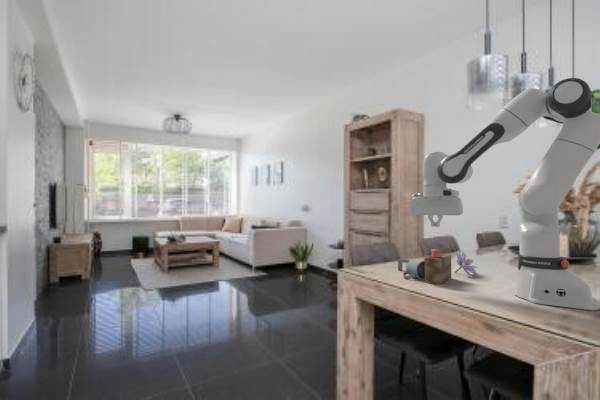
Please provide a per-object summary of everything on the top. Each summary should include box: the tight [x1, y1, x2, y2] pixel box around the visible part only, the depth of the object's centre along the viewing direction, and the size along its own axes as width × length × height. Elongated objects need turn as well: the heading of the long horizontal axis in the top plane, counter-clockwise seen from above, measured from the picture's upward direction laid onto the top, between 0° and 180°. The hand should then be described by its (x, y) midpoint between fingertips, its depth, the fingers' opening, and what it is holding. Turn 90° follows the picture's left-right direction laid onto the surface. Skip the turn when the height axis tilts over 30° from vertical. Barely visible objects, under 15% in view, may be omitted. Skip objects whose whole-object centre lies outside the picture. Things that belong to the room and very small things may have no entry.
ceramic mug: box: [402, 259, 425, 280], centre depth 139 cm, size 11×8×8 cm
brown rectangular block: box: [423, 253, 452, 286], centre depth 134 cm, size 6×14×10 cm, turn 138°
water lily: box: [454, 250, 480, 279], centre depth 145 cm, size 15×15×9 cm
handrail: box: [397, 258, 411, 271], centre depth 149 cm, size 19×2×5 cm, turn 48°
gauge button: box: [430, 248, 441, 258], centre depth 132 cm, size 3×3×6 cm
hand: (435, 226), depth 132 cm, fingers closed
